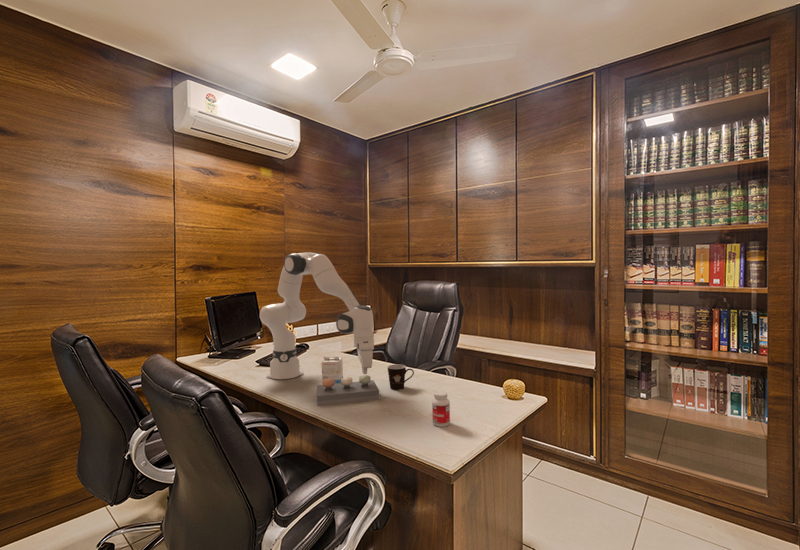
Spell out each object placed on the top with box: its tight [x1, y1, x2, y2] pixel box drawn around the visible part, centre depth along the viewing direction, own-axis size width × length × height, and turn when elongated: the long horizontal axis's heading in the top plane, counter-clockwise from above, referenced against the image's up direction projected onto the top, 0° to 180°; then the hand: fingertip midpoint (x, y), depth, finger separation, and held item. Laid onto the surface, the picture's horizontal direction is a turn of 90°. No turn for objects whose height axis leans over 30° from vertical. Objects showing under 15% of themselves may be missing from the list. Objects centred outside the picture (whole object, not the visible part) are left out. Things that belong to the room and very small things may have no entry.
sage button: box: [358, 374, 371, 387], centre depth 165 cm, size 5×5×4 cm
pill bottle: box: [431, 390, 451, 428], centre depth 132 cm, size 6×6×11 cm
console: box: [316, 379, 380, 407], centre depth 163 cm, size 15×26×4 cm, turn 103°
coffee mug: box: [387, 363, 415, 391], centre depth 173 cm, size 12×9×10 cm
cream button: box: [341, 376, 354, 389], centre depth 163 cm, size 5×5×4 cm
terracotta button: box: [321, 379, 334, 391], centre depth 161 cm, size 5×5×4 cm
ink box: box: [321, 356, 344, 384], centre depth 184 cm, size 9×8×13 cm
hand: (364, 373), depth 165 cm, fingers closed
